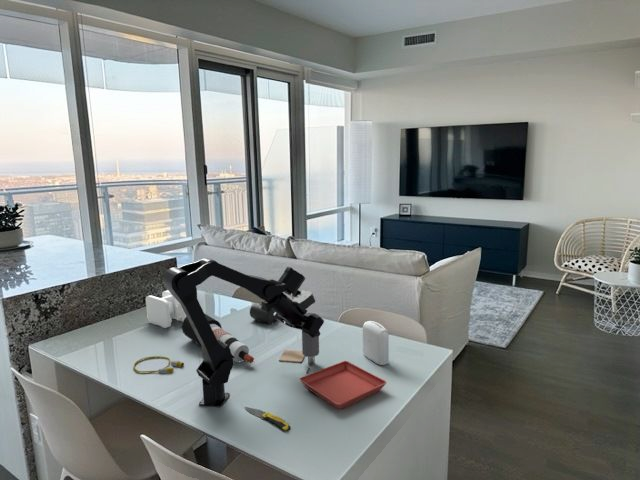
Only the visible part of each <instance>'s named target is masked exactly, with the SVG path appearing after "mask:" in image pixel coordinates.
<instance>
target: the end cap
mask: <svg viewBox="0 0 640 480" xmlns="http://www.w3.org/2000/svg"><path fill="white" fill-rule="evenodd" d="M261 306H262V303H258V304H257V303H253V304H252V305H251V307H250V308H249V316H250V317H251V319H253V320H255V321H259V322H262V323H265V322H266V324H268V325H269V324H270V325H273V324H276V323H278V322H279V321H278V320H277V319H275V314H276V312H275V311H274V310H272V309H271V310H270V311H269V312H268V313H267V312H265V311H263V310H261ZM277 321H278V322H277ZM275 322H276V323H275ZM272 323H273V324H272Z"/></svg>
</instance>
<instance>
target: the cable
mask: <svg viewBox="0 0 640 480" xmlns="http://www.w3.org/2000/svg"><path fill="white" fill-rule="evenodd" d="M204 314H205V316H206V318H207V320H208V322H209V324H210V326H211V328H212V330H213V332H214V334H215V336H216V339H217V341H218V340H221V341H222V342H224V343H225V344H227V345H228V346H229V348H230V351H231V354H232V355H233V356H234V357H235V358H232V359H233V361H234V363H235V362H236V363H237V362H239V361H242V360H244V361H245V362H247V363H249V365H251V364H252V363H253V362H254V361H255V358H254V357H253V356H252V355H250V354H249V351H250V348H249V347H248V346H247V345H246V344H245V343H242V342H241V341H240V340H238V339H237V338H236V337H234V336H233V335H232V334H231V333H229V332H227V331H226V330H224V329H223V327H222V324H221V323H220V322H219V320H216V319H215V318H213V317H211V316H210V315H208V314H206V313H205V312H204ZM181 329H182V333H183V334H184V335H185V336H186V337H187V338H188V339H190V340H191V341H193V342H195V343H196V344H197V345H199V346H200V347H202V346H201V344H200V342H199V340H198V338H197V336H196V334H195V332H194V330H193V328H192V326H191V324H190V322H189V320H188V318H187V316H186V318H185V319H184V321H183V322H182V324H181ZM242 362H243V361H242ZM239 363H240V362H239Z"/></svg>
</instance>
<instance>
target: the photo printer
mask: <svg viewBox="0 0 640 480" xmlns="http://www.w3.org/2000/svg"><path fill="white" fill-rule="evenodd" d="M389 339H390V337H389V331H388V330H387V328H385V327H384V325H382V324H381V323H379V322H377V321H373V320H368V321H365V322H364V324H363V325H362V353H363V356H364V357H366V358H368V359H369V360H370V361H371V362H374V363H375V364H377V365H380V366H386V365H388V363H389V362H390V361H389V359H390V357H389V355H390V354H389V353H390V352H389V350H390V349H389V346H390V345H389V343H390V342H389Z"/></svg>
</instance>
